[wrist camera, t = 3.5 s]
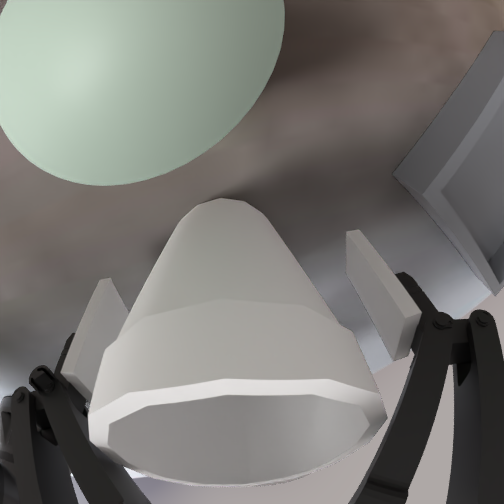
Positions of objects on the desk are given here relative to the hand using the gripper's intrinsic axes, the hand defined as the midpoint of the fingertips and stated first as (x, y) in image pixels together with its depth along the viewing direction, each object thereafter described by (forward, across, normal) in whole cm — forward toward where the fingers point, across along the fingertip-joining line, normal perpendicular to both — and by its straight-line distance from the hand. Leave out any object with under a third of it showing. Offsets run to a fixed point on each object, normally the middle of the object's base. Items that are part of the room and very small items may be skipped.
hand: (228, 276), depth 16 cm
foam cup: (+4, 0, 0) cm, 4 cm away
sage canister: (+3, 0, -11) cm, 12 cm away
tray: (+4, -22, -3) cm, 23 cm away
